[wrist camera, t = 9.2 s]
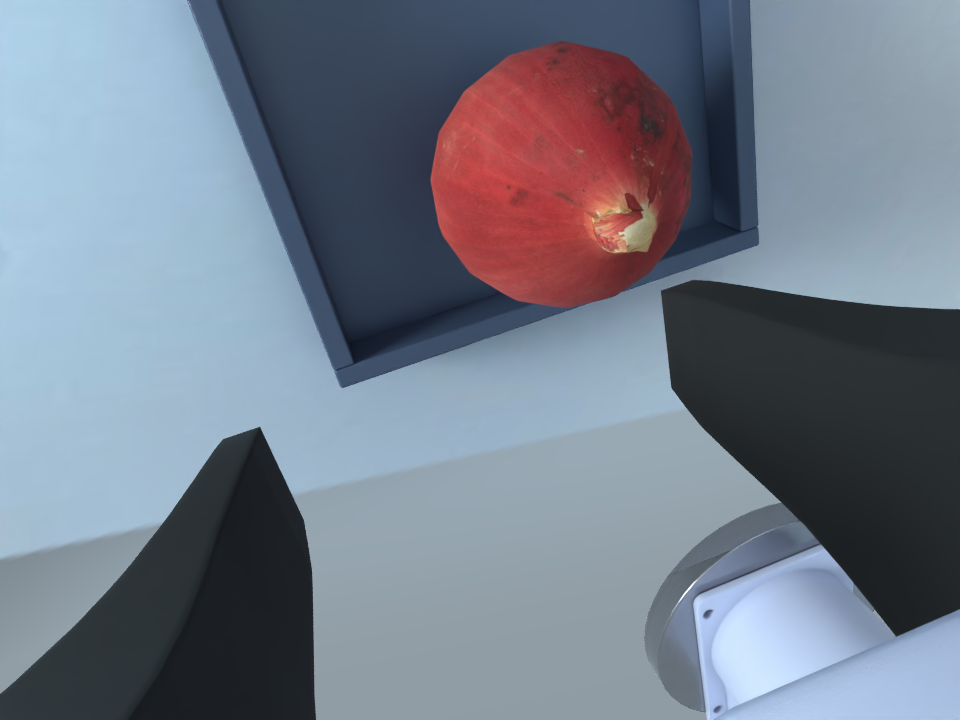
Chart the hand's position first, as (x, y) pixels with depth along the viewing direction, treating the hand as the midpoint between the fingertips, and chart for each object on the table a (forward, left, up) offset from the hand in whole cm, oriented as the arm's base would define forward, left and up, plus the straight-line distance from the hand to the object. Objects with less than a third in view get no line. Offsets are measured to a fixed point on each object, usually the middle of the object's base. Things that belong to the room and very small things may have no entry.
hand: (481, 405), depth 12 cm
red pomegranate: (+2, -4, -9) cm, 10 cm away
